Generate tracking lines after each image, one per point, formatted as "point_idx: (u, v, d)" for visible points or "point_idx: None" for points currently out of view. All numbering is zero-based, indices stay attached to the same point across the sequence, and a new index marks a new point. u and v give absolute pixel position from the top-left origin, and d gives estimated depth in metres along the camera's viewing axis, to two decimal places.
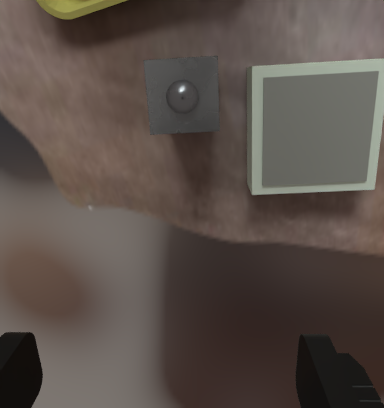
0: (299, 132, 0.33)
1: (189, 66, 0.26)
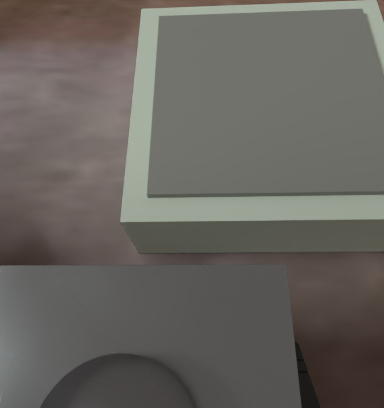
0: (271, 121, 0.15)
1: None
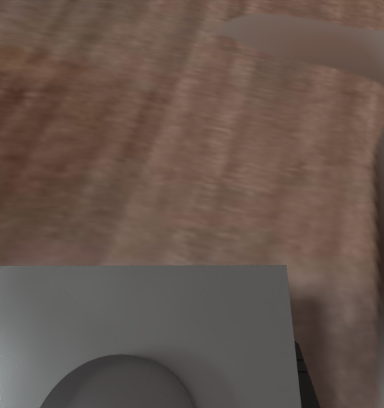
0: None
1: None
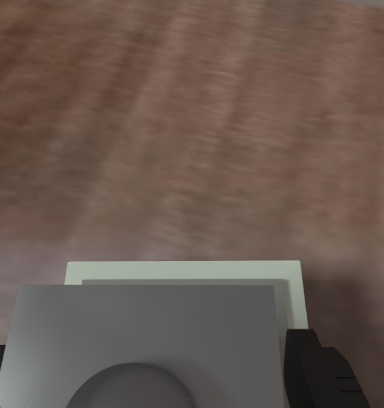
0: None
1: (26, 394, 0.07)
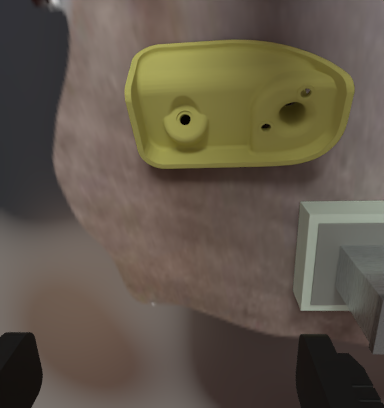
0: None
1: None
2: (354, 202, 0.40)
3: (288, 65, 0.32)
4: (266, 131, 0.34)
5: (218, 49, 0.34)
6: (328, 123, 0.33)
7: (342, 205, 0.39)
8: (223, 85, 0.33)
